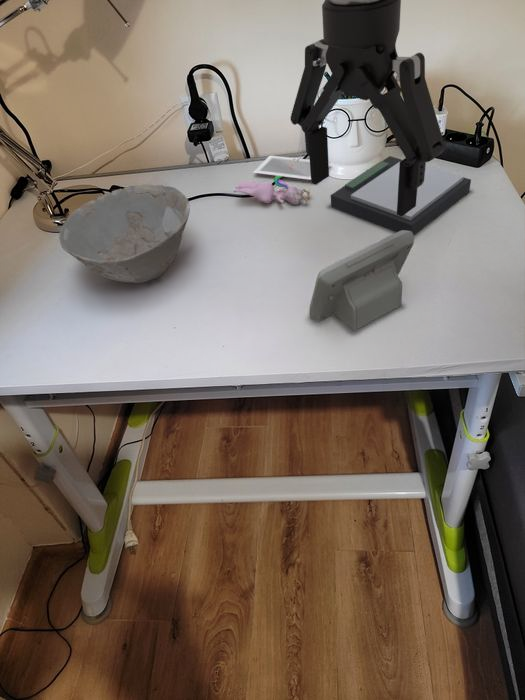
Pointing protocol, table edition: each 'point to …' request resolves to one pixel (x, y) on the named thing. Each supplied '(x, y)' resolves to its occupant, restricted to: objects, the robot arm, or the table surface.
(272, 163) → the touchpad
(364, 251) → the digital clock
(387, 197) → the scale
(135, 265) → the ceramic bowl
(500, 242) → the table surface
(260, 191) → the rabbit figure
